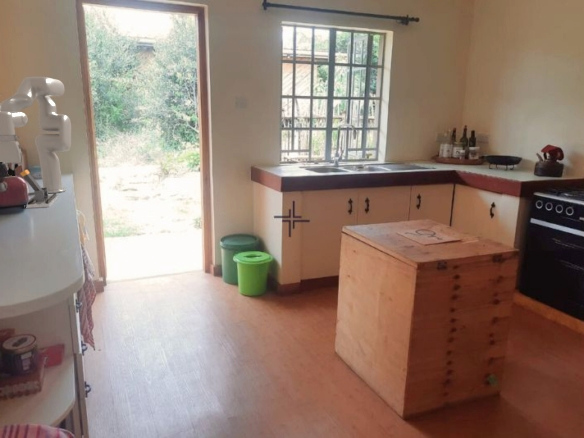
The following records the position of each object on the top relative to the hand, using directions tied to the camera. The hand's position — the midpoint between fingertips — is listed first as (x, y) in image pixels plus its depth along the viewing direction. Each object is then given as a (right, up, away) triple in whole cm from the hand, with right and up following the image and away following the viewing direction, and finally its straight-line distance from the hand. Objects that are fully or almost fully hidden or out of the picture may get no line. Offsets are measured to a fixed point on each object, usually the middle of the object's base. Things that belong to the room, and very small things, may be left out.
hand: (12, 178), depth 214 cm
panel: (+11, -11, +6) cm, 17 cm away
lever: (+11, -7, +5) cm, 14 cm away
